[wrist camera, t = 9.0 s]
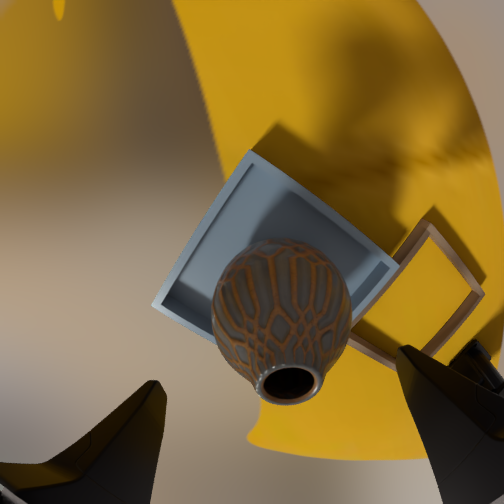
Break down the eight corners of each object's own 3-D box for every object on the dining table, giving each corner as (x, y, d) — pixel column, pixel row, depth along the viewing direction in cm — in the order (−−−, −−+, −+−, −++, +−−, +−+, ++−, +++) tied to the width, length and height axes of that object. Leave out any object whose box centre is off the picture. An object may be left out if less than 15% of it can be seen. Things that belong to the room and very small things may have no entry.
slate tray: (387, 254, 17) (400, 266, 15) (287, 363, 20) (289, 381, 18) (250, 149, 15) (249, 149, 13) (160, 291, 18) (150, 305, 16)
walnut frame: (477, 287, 17) (485, 294, 16) (405, 370, 20) (409, 378, 19) (421, 218, 16) (430, 222, 15) (331, 327, 19) (335, 337, 18)
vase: (236, 210, 16) (207, 278, 7) (348, 241, 16) (417, 324, 8) (212, 311, 18) (182, 418, 10) (310, 333, 18) (333, 439, 10)
